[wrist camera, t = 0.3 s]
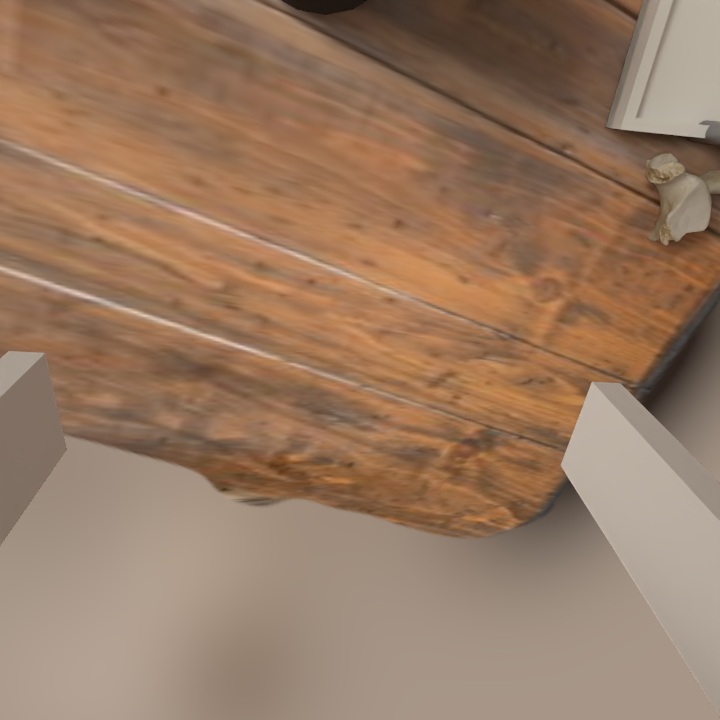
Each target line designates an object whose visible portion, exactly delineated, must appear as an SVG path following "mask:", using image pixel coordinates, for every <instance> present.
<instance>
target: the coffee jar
mask: <svg viewBox="0 0 720 720" xmlns="http://www.w3.org/2000/svg"><path fill="white" fill-rule="evenodd" d="M282 1H284V2H286V3H287V4H289V5H291V6H292V7H294V8H296V9H297V10H303V11H308V12H314V13H319V14H324V15H326V14H331V13H336V12H341V11H346V10H351V9H354V8H355V7H357V6H358V5H360V4H362V3H363V2H365V1H366V0H282Z"/></svg>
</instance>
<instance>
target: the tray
mask: <svg viewBox="0 0 720 720" xmlns="http://www.w3.org/2000/svg"><path fill="white" fill-rule="evenodd" d="M606 128H613V129H620V130H630V131H639V132H649V133H659V134H668V135H678V136H687V138H688V139H689V140H690V141H696V142H702V143H709V144H716V145H720V0H643V2H642V6H641V9H640V12H639V16H638V19H637V23H636V26H635V29H634V33H633V36H632V40H631V43H630V46H629V50H628V53H627V56H626V60H625V63H624V67H623V70H622V73H621V77H620V80H619V83H618V87H617V90H616V94H615V97H614V100H613V104H612V107H611V110H610V114H609V117H608V121H607V124H606Z"/></svg>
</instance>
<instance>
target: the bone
mask: <svg viewBox="0 0 720 720" xmlns="http://www.w3.org/2000/svg"><path fill="white" fill-rule="evenodd" d="M646 168H647V170H646V178H647V179H648V180H649V181H650V182H651V183H654V184H655V186H656V188H657V189H658V192H659V197H660V204H661V205H660V212H659V216H658V219H657V221H656V222H655V224H654V225H655V226H654V227H653V229H652V232H651V234H650V235H649V237H648V239H650V240H652V241H657V240H658V241H660V242H661V243H662V244H664V245H668V243H669V240H675V241H676V242H677V241H679V240H680V239H681V237H682V236H684V235H685V234H686V233H691V232H698V231H704V230H705V229H706V228H707V226H708V224H709V221H710V215H711V195H710V194H720V170H712V171H709V172H707V173H705V174H703V175H701V176H696V175H691V174H689V173H687V172H685V167H684V166H683V165H682V164H681V163H679V162H678V160H677V159H676V158H675V157H674V156H673V155H672V154H660V155H657V156H656V157H654V158H652V159H651V160H647V162H646Z"/></svg>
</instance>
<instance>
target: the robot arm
mask: <svg viewBox="0 0 720 720" xmlns="http://www.w3.org/2000/svg"><path fill="white" fill-rule="evenodd" d="M66 450H67V448H66V444H65V439H64V435H63V430H62V426H61V421H60V417H59V412H58V408H57V403H56V399H55V395H54V390H53V386H52V381H51V377H50V372H49V368H48V363H47V359H46V354H45V353H35V352H16V351H9V352H7V353H6V354H5V355H4V356H3V357H2V358H0V545H1V544H2V543H3V541H4V540H5V538H6V537H7V535H8V534H9V532H10V531H11V530H12V528H13V527H14V525H15V524H16V522H17V521H18V519H19V518H20V516H21V515H22V514H23V512H24V510H25V509H26V508H27V506H28V505H29V503H30V502H31V501H32V499H33V498H34V496H35V495H36V493H37V492H38V490H39V489H40V488H41V486H42V485H43V483H44V482H45V480H46V479H47V477H48V476H49V475H50V473H51V472H52V470H53V468H54V467H55V466H56V464H57V463H58V461H59V460H60V459H61V457H62V456H63V454H64V453H65V451H66ZM561 467H562V469H563V470H564V472H565V473H566V475H567V476H568V478H569V480H570V481H571V483H572V484H573V486H574V487H575V489H576V491H577V492H578V494H579V495H580V497H581V498H582V500H583V502H584V503H585V505H586V506H587V508H588V509H589V511H590V513H591V514H592V516H593V518H594V519H595V521H596V522H597V523H598V525H599V527H600V529H601V530H602V532H603V533H604V535H605V537H606V538H607V539H608V541H609V543H610V544H611V546H612V548H613V549H614V551H615V552H616V554H617V555H618V557H619V559H620V560H621V562H622V563H623V565H624V566H625V568H626V570H627V571H628V573H629V575H630V576H631V578H632V579H633V580H634V582H635V584H636V586H637V587H638V589H639V590H640V592H641V594H642V595H643V597H644V598H645V600H646V601H647V603H648V605H649V606H650V608H651V609H652V610H653V612H654V614H655V616H656V617H657V619H658V620H659V622H660V624H661V625H662V627H663V628H664V630H665V631H666V633H667V635H668V636H669V638H670V639H671V641H672V642H673V644H674V646H675V647H676V649H677V650H678V652H679V653H680V655H681V657H682V658H683V660H684V661H685V663H686V665H687V666H688V668H689V669H690V671H691V673H692V674H693V676H694V677H695V679H696V681H697V682H698V684H699V685H700V687H701V688H702V690H703V692H704V693H705V695H706V696H707V698H708V699H709V701H710V702H711V704H712V706H713V707H714V709H715V711H716V712H717V713H718V715H719V717H720V482H719V481H718V480H717V479H716V478H715V477H714V476H713V475H712V474H711V473H710V472H709V471H708V470H707V469H706V468H705V467H704V466H703V465H702V464H701V463H700V462H699V461H698V460H697V459H696V458H695V457H694V456H693V455H692V454H691V453H690V452H689V451H688V450H687V449H686V448H685V447H684V446H683V445H682V444H681V443H680V442H679V441H678V440H677V439H676V438H675V437H674V436H673V435H672V434H671V433H670V432H669V431H668V430H667V429H666V428H665V427H664V426H663V425H661V424H660V422H659V421H658V420H657V419H656V418H655V417H653V415H651V413H650V412H649V411H648V410H646V408H645V407H644V406H643V405H642V404H641V403H640V402H638V401H637V400H636V399H635V398H634V397H633V396H632V395H631V394H630V393H629V392H628V391H627V390H626V389H625V388H624V387H623V386H622V385H621V384H620V383H606V382H592V383H591V386H590V388H589V391H588V394H587V397H586V399H585V402H584V405H583V407H582V410H581V413H580V415H579V418H578V421H577V423H576V426H575V429H574V431H573V434H572V437H571V439H570V442H569V445H568V447H567V450H566V453H565V455H564V458H563V461H562V463H561Z"/></svg>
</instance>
